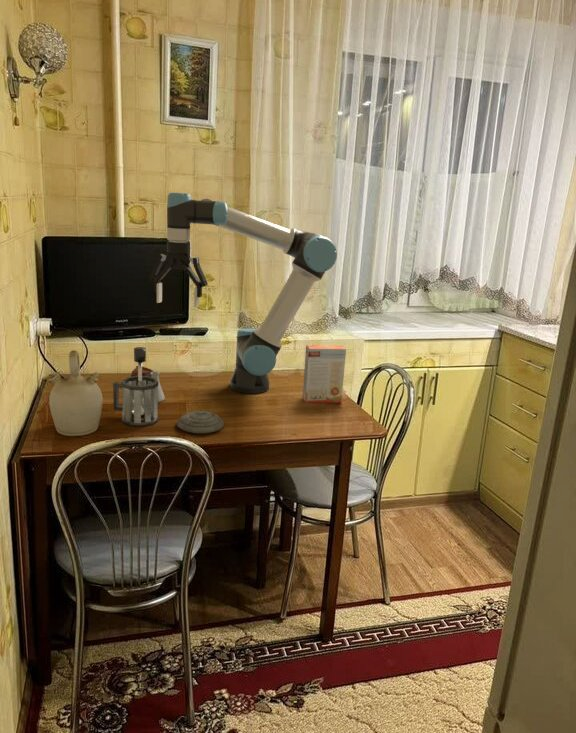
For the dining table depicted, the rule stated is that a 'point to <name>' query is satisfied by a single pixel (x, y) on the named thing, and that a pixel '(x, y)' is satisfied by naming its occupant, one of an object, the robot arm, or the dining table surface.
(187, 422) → the flying saucer
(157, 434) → the dining table surface
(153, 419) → the press carafe
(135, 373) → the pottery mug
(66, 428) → the jug
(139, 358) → the plunger
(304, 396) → the cracker box
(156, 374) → the flask
